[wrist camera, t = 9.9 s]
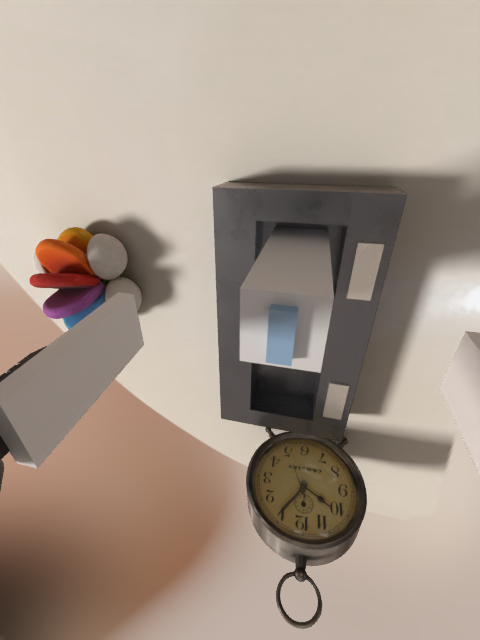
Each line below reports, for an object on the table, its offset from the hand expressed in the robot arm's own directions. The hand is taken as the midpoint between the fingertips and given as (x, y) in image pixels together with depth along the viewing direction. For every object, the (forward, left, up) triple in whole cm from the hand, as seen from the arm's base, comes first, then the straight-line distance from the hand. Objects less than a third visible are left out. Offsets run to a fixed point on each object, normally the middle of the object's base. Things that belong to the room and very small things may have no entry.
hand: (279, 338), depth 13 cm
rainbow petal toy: (+4, -19, -14) cm, 24 cm away
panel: (+6, 0, -14) cm, 15 cm away
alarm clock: (+22, +3, -14) cm, 27 cm away
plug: (0, 0, -13) cm, 13 cm away
